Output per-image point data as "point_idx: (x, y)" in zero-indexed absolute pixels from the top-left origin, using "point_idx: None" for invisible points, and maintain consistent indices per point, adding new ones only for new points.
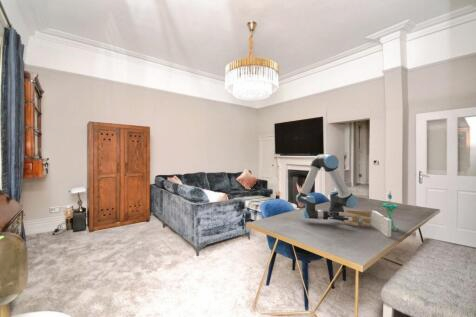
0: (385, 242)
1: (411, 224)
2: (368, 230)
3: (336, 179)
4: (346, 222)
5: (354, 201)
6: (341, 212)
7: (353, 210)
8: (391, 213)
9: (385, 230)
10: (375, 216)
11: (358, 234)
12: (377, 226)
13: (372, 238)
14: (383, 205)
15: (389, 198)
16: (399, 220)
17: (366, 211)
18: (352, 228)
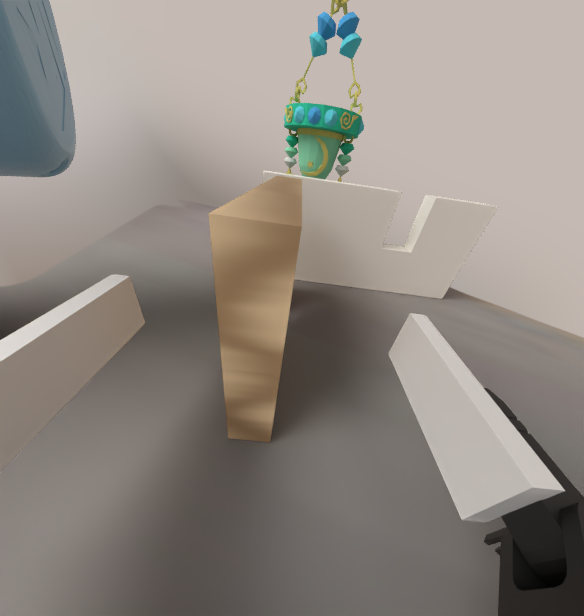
0: (557, 337)
1: None
2: (380, 324)
3: None
4: (272, 422)
5: (45, 33)
6: (16, 351)
7: (279, 193)
8: (347, 171)
9: (436, 273)
10: (318, 211)
11: (576, 438)
12: (337, 269)
13: (559, 369)
14: (334, 113)
15: (353, 48)
16: (201, 212)
17: (301, 181)
18: (397, 420)
